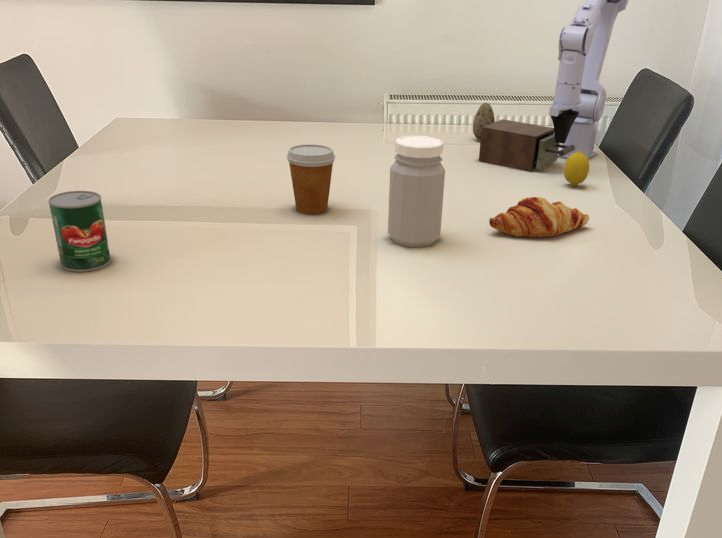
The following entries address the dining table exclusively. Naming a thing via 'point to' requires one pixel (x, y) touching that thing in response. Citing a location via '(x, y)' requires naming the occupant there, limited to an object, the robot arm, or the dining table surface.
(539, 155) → the drawer
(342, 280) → the dining table surface
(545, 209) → the croissant
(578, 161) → the lemon
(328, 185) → the disposable coffee cup
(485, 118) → the decorative egg
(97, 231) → the canned tomato
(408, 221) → the jar
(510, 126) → the cabinet
